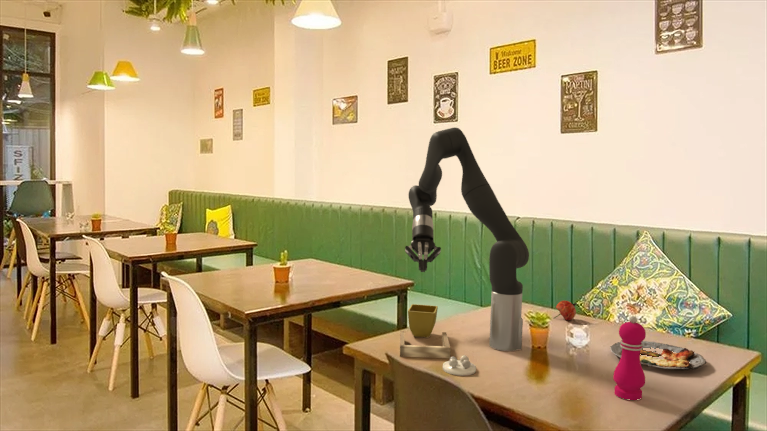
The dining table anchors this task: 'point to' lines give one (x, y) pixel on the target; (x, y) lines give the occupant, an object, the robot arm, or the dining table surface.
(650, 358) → the food plate
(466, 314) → the dining table surface
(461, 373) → the pebble dish
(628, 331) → the pepper mill
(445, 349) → the beech tray
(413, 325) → the flower pot
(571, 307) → the pomegranate
